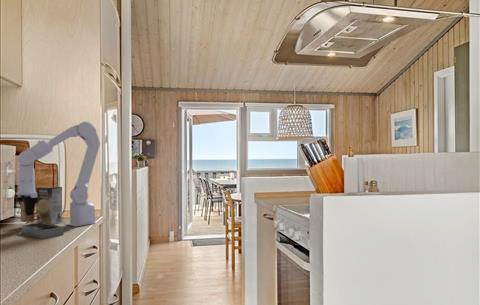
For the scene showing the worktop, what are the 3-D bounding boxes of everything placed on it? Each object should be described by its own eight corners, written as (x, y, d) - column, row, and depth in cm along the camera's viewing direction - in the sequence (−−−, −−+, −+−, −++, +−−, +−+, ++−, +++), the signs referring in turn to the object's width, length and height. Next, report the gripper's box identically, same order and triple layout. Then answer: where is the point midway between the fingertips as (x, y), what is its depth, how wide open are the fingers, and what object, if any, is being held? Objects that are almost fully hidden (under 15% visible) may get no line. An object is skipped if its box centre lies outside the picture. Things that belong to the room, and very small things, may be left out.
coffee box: (35, 224, 161) (34, 187, 161) (47, 221, 167) (47, 186, 167) (51, 225, 158) (51, 187, 158) (63, 222, 164) (62, 186, 164)
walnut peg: (30, 219, 151) (30, 200, 151) (34, 220, 148) (33, 201, 148) (20, 221, 148) (20, 201, 148) (24, 222, 146) (23, 202, 146)
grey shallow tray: (43, 229, 148) (43, 222, 148) (63, 234, 137) (63, 226, 137) (22, 233, 142) (22, 225, 142) (41, 238, 131) (40, 230, 131)
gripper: (9, 181, 150) (9, 214, 150) (23, 182, 141) (24, 217, 141) (27, 180, 155) (28, 212, 155) (42, 180, 146) (43, 215, 146)
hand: (27, 214), depth 148 cm, fingers closed on walnut peg, 4 cm apart
